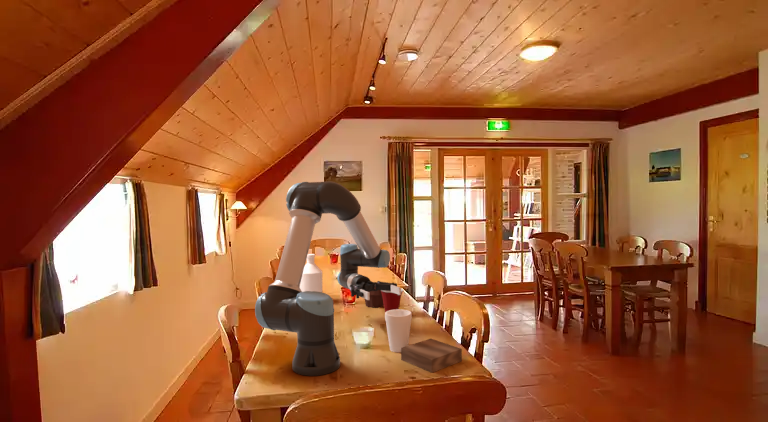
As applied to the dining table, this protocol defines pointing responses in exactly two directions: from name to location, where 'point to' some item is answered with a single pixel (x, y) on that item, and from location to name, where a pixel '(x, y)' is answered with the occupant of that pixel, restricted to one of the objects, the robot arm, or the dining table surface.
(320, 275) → the bottle
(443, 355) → the walnut plinth
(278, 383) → the dining table surface
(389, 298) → the plastic cup
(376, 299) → the muffin
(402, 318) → the foam cup
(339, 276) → the robot arm
